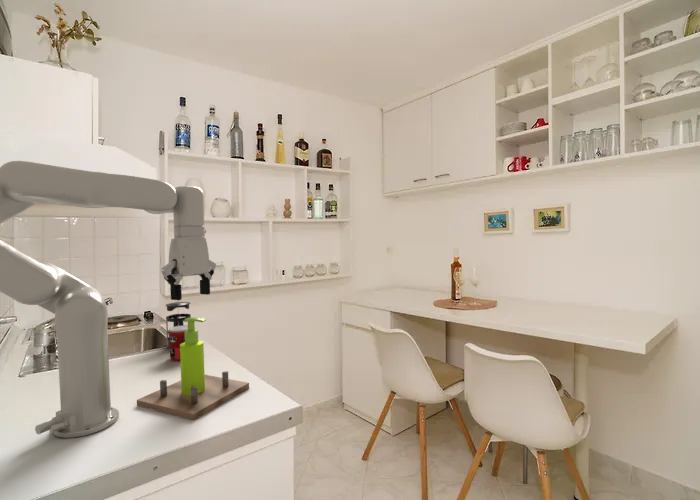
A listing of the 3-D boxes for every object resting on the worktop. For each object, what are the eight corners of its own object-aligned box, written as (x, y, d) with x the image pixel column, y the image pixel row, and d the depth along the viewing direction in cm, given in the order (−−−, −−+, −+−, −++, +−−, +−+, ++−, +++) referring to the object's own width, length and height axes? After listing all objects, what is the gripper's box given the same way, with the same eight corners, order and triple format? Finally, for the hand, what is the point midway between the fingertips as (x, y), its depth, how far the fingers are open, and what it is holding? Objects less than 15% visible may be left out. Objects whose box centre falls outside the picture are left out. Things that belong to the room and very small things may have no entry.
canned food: (171, 356, 137) (170, 326, 136) (195, 353, 139) (194, 324, 138) (168, 362, 129) (166, 331, 129) (193, 360, 132) (191, 329, 131)
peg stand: (193, 420, 89) (192, 397, 88) (136, 405, 97) (135, 384, 97) (249, 387, 107) (248, 369, 106) (197, 377, 115) (196, 360, 115)
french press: (195, 346, 148) (193, 288, 147) (169, 351, 142) (166, 291, 141) (188, 339, 157) (186, 285, 156) (163, 344, 152) (161, 288, 151)
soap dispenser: (202, 395, 98) (199, 320, 98) (177, 395, 99) (174, 320, 98) (212, 386, 104) (210, 315, 103) (188, 386, 105) (186, 315, 104)
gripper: (203, 233, 109) (205, 291, 110) (150, 233, 93) (152, 301, 94) (223, 233, 106) (225, 292, 107) (172, 233, 90) (174, 303, 91)
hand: (191, 296), depth 100 cm, fingers open, 9 cm apart
